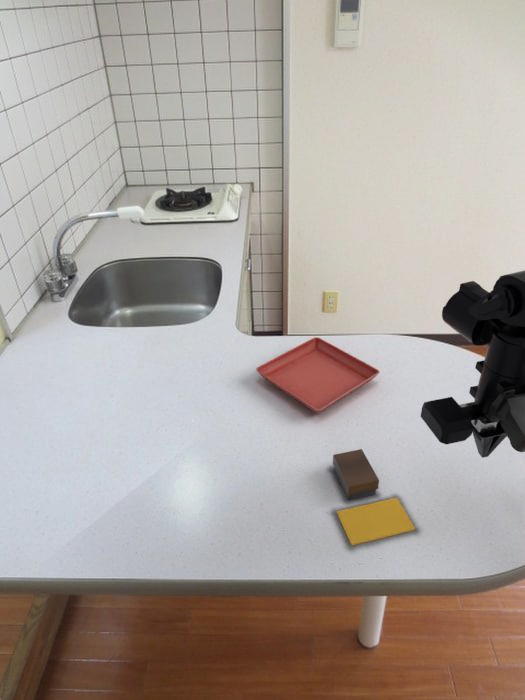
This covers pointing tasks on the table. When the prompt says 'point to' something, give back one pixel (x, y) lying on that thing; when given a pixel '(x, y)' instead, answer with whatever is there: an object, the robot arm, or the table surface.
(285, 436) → the table surface
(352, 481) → the brown rectangular block
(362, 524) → the cloth
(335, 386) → the plant saucer
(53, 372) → the table surface
